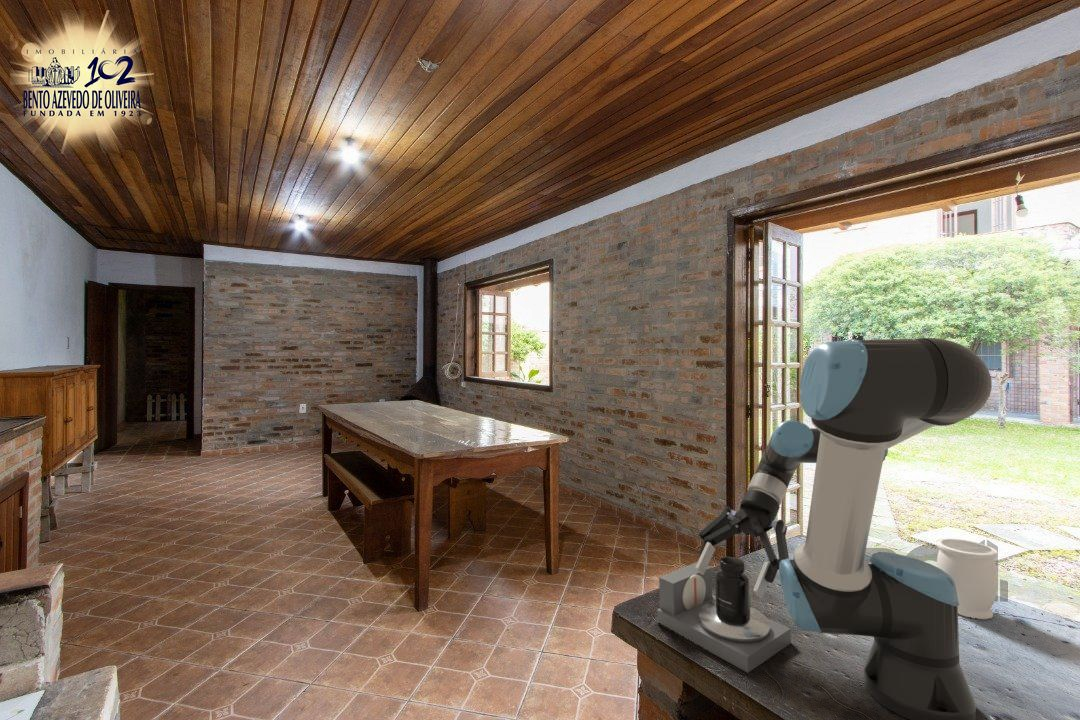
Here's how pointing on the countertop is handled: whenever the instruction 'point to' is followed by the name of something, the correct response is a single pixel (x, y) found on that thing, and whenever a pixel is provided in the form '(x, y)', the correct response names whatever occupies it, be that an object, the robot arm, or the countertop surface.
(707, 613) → the scale pan
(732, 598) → the supplement bottle
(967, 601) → the jar
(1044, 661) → the countertop surface
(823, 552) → the robot arm
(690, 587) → the scale
